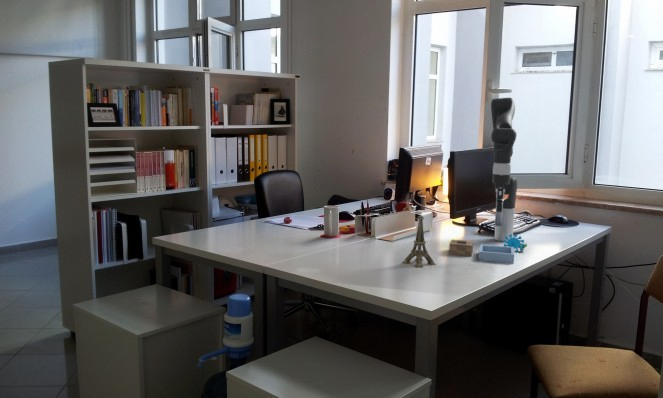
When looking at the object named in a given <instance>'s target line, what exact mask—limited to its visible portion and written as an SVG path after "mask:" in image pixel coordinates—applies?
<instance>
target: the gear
mask: <svg viewBox="0 0 663 398" xmlns="http://www.w3.org/2000/svg"><path fill="white" fill-rule="evenodd" d="M509 237H510V239H508V236H506V237H505V239H507V240H508V241H506V240H505V239H504V240H503V241H502V243H503V246H505V247H514V253H519V251H521V252H522V251H524V249H525V248H527V246H528V244H527V243H525V240H524V239H522V236H521V235H519V236H518V235H517V234H515V233H514V234H513V238H511V237H512V235H511V234H510V235H509Z"/></svg>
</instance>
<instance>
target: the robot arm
mask: <svg viewBox="0 0 663 398" xmlns="http://www.w3.org/2000/svg"><path fill="white" fill-rule="evenodd" d="M515 111H516V103H515V99H513V98H512V97H501V98H500V97H499V98H492V99H491V102H490V112H491V121H492V122H491V123H492V131H491V137H490V138H491V141H492V143H493V144H492V145H493V165H492V181H491V183H492V184H493V185H494V191H495V198H496V199H497V202H496V201H495V204H496V203H497V212H502V203H503V212H502V226H495V225H494V240H495V241H499V242H503V240H504V239H505V237H506V236H508V239H510V237H509V235H510V234H511V235H512V237H511V238H513V237H514V228H515V227H514V226H515V211H516V210H515V209H516V199H517V189H518V179H517V178H516V177H513V176H511V159H512V156H513V154H514V151H513V149H514V148H513V147H514V146H515V145H514V144H515V142H516V140H517V131H516V129H514V128H513V120H514V116H515V113H516V112H515ZM505 195H506V196H507V198H505ZM498 199H502V200H498ZM505 240H506V241H507V242H508V240H507V239H505Z"/></svg>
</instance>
